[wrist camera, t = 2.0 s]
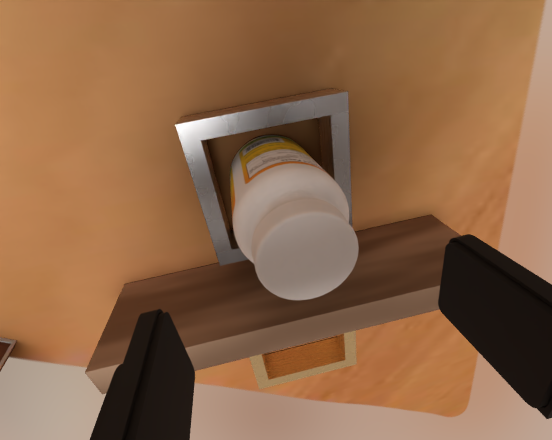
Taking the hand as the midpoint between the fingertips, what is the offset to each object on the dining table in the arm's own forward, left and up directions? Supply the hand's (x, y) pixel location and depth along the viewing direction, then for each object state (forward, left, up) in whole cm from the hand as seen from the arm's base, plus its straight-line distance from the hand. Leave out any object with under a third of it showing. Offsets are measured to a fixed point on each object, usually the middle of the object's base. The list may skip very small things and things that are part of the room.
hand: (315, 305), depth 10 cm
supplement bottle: (-1, 0, -11) cm, 11 cm away
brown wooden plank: (+5, +4, -11) cm, 13 cm away
